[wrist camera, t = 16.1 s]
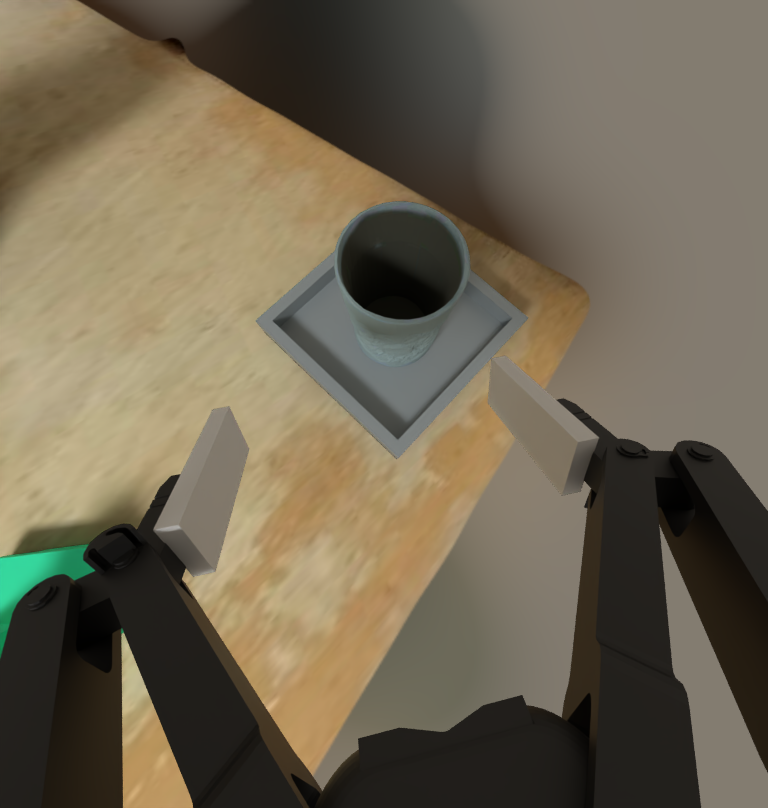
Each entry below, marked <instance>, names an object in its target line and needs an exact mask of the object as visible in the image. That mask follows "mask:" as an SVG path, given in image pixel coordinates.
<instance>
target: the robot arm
mask: <svg viewBox="0 0 768 808" xmlns="http://www.w3.org/2000/svg"><path fill="white" fill-rule="evenodd" d="M488 404H489V405H490V407H491V408H492V409H493V410H494V412H495V413H496V414H497V415H498V417H499V418H500V419H501V420H502V422H503V423H504V424H505V425H506V427H507V428H508V429H509V430H510V432H511V433H512V434H513V435H514V437H515V438H516V439H517V440H518V442H519V443H520V444H521V445H522V447H523V448H524V449H525V450H526V452H527V453H528V454H529V455H530V457H531V458H532V459H533V460H534V462H535V463H536V464H537V465H538V467H539V468H540V469H541V470H542V472H543V473H544V474H545V475H546V476H547V478H548V479H549V480H550V482H551V483H552V484H553V485H554V487H555V488H556V489H557V490H558V492H559V493H560V494H561V495H562V496H563V495H568V494H572V493H577V492H580V491H581V488H582V485H583V482H584V481H585V482H586V483H587V484H588V485H589V486H590V488H591V490H590V493H589V496H588V498H587V501H586V504H585V506H584V507H585V508H587V519H586V527H585V537H584V547H583V556H582V566H581V576H580V585H579V595H578V604H577V614H576V624H575V633H574V642H573V653H572V662H571V671H570V678H569V684H568V688H567V691H566V695H565V700H564V705H563V713H562V718H561V717H560V716H558V715H556V714H554V713H552V712H549V711H547V710H545V709H542V708H538V707H534V706H527V705H526V703H525V701H524V698H523V696H522V695H521V696H517V697H513V698H509V699H506V700H502V701H498V702H495V703H490V704H487V705H483V706H482V707H480V708H479V709H478V710H476V711H475V712H473V713H472V714H471V715H469V716H468V717H466V718H465V719H464V720H463V721H461V722H460V723H458V724H457V725H455V726H454V727H453V728H451V729H450V730H448V731H446V732H436V731H426V730H416V729H407V728H397V729H393V730H389V731H385V732H381V733H378V734H374V735H370V736H367V737H363V738H359V739H358V744H359V750H357V751H356V752H355V753H353V754H352V755H351V756H350V757H349V758H348V759H347V760H346V761H345V762H343V763H342V764H341V766H340V767H339V768H338V769H337V771H336V772H335V773H334V774H333V775H332V777H331V778H330V780H329V782H328V783H327V784H326V786H325V788H324V790H323V791H322V790H321V788H320V787H319V785H318V784H317V782H316V780H315V779H314V777H313V776H312V775H311V773H310V772H309V770H308V769H307V768H306V766H305V765H304V764H303V762H302V761H301V760H300V759H299V757H298V756H297V755H296V754H295V752H294V751H293V749H292V748H291V746H290V745H289V743H288V742H287V740H286V739H285V737H284V735H283V734H282V732H281V731H280V729H279V728H278V726H277V725H276V723H275V721H274V720H273V718H272V717H271V715H270V714H269V712H268V711H267V709H266V708H265V706H264V704H263V703H262V701H261V700H260V698H259V697H258V695H257V694H256V692H255V690H254V689H253V687H252V686H251V684H250V683H249V681H248V680H247V678H246V676H245V675H244V673H243V672H242V670H241V669H240V667H239V666H238V664H237V663H236V661H235V659H234V658H233V656H232V655H231V653H230V652H229V650H228V649H227V647H226V645H225V644H224V642H223V641H222V639H221V638H220V636H219V635H218V633H217V631H216V630H215V628H214V627H213V625H212V624H211V622H210V621H209V619H208V618H207V616H206V614H205V613H204V611H203V610H202V608H201V607H200V605H199V604H198V602H197V600H196V599H195V597H194V596H193V594H192V593H191V591H190V590H189V588H188V587H187V585H186V583H185V582H184V581H183V580H182V577H183V574H184V572H185V569H187V570H188V571H189V572H190V573H191V575H192V576H193V577H194V576H199V575H203V574H208V573H212V572H215V571H216V568H217V564H218V560H219V557H220V553H221V550H222V546H223V542H224V539H225V535H226V531H227V528H228V524H229V521H230V517H231V513H232V510H233V506H234V502H235V499H236V495H237V492H238V488H239V484H240V481H241V477H242V473H243V470H244V466H245V463H246V459H247V455H248V452H249V447H248V445H247V443H246V441H245V439H244V437H243V435H242V433H241V430H240V428H239V426H238V424H237V422H236V420H235V418H234V416H233V414H232V411H231V409H230V407H229V406H228V407H223V408H217V409H213V410H212V412H211V414H210V416H209V418H208V420H207V422H206V424H205V426H204V428H203V430H202V432H201V434H200V436H199V438H198V440H197V442H196V444H195V446H194V448H193V450H192V452H191V454H190V456H189V458H188V460H187V462H186V464H185V466H184V468H183V471H182V473H181V474H179V475H174V476H171V477H170V478H169V479H168V480H167V481H166V482H165V483H164V484H163V485H162V486H161V487H160V488H159V490H158V492H157V494H156V496H155V500H153V501H152V503H151V505H150V509H148V511H147V512H146V514H145V516H144V518H143V520H142V522H141V523H140V525H139V527H138V529H137V530H136V529H135V528H134V527H133V526H132V525H131V524H120V525H117V526H113V527H111V528H109V529H108V530H106V531H104V532H102V533H101V534H100V535H98V536H97V537H96V538H95V539H94V540H93V541H92V542H91V543H90V544H89V545H88V546H87V548H86V550H85V552H84V554H83V561H85V562H86V563H87V564H88V565H89V566H90V567H92V568H93V569H94V570H95V571H94V572H92V573H89V574H87V575H85V576H83V577H81V578H79V579H76V580H73V579H72V578H71V577H69V576H67V575H65V574H59V575H54V576H52V577H49V578H47V579H45V580H43V581H42V582H40V583H38V584H37V585H35V586H34V587H33V588H32V589H31V590H29V591H28V592H27V593H26V594H25V595H24V596H23V597H22V598H21V600H20V601H19V602H18V603H17V605H16V607H15V609H14V611H13V613H12V617H11V621H10V624H9V628H8V632H7V635H6V639H5V643H4V647H3V650H2V654H1V658H0V808H123V768H122V652H121V628H122V629H123V631H124V634H125V636H126V639H127V641H128V644H129V646H130V649H131V651H132V653H133V656H134V658H135V661H136V663H137V666H138V668H139V671H140V673H141V676H142V678H143V680H144V683H145V685H146V688H147V690H148V693H149V695H150V698H151V700H152V703H153V705H154V708H155V710H156V712H157V715H158V717H159V720H160V722H161V725H162V727H163V730H164V732H165V735H166V737H167V740H168V742H169V744H170V747H171V749H172V752H173V754H174V757H175V759H176V762H177V764H178V767H179V769H180V772H181V774H182V776H183V779H184V781H185V784H186V786H187V789H188V791H189V794H190V796H191V799H192V802H193V808H701V803H700V795H699V785H698V777H697V769H696V760H695V751H694V743H693V734H692V725H691V717H690V709H689V702H688V697H687V693H686V691H685V688H684V686H683V684H682V683H681V682H680V681H678V680H677V679H676V678H675V675H674V673H673V668H672V658H671V648H670V637H669V626H668V615H667V604H666V593H665V582H664V572H663V561H662V550H661V539H660V528H659V525H660V527H661V529H662V532H663V534H664V536H665V539H666V541H667V543H668V545H669V547H670V550H671V552H672V555H673V557H674V559H675V561H676V564H677V566H678V569H679V571H680V573H681V576H682V578H683V580H684V582H685V585H686V587H687V589H688V592H689V594H690V596H691V598H692V601H693V603H694V606H695V608H696V610H697V612H698V615H699V617H700V619H701V622H702V624H703V626H704V629H705V631H706V633H707V636H708V638H709V640H710V642H711V645H712V647H713V649H714V652H715V654H716V656H717V659H718V661H719V663H720V665H721V668H722V670H723V673H724V674H725V677H726V679H727V681H728V684H729V686H730V689H731V691H732V693H733V695H734V698H735V700H736V703H737V705H738V707H739V709H740V711H741V714H742V716H743V719H744V721H745V723H746V726H747V728H748V730H749V733H750V735H751V737H752V740H753V742H754V744H755V746H756V749H757V751H758V753H759V756H760V758H761V760H762V762H763V764H764V766H765V768H766V770H767V772H768V511H767V510H766V508H765V507H764V506H763V504H762V503H761V502H760V500H759V499H758V498H757V497H756V495H755V494H754V493H753V491H752V490H751V489H750V487H749V486H748V485H747V484H746V482H745V481H744V480H743V479H742V477H741V476H740V474H739V473H738V472H737V470H736V469H735V468H734V467H733V465H732V464H731V463H730V461H729V460H728V459H727V457H726V456H725V455H724V454H723V453H722V452H720V451H719V450H718V449H716V448H714V447H712V446H710V445H708V444H705V443H702V442H697V441H681V442H678V443H677V445H676V446H675V447H674V449H673V451H650V450H649V449H648V448H646V447H645V446H643V445H642V444H640V443H638V442H635V441H632V440H628V439H617V438H616V437H615V436H614V435H612V434H611V433H610V432H609V431H608V430H607V429H605V428H604V427H603V426H602V425H600V424H599V423H598V422H597V421H596V420H594V419H592V418H591V416H589V415H588V414H587V413H585V412H584V410H582V409H581V408H580V407H579V406H577V405H576V404H574V403H572V402H570V401H568V400H566V399H558V400H556V399H554V398H553V397H552V396H551V395H550V394H549V393H548V392H546V391H545V390H544V389H543V388H542V387H541V386H540V385H538V384H537V383H536V382H535V381H534V380H533V379H532V378H531V377H529V376H528V375H527V374H526V373H525V372H524V371H523V370H521V369H520V368H519V367H518V366H517V365H516V364H515V363H513V362H512V361H511V360H510V359H509V358H508V357H507V356H502V357H496V358H491V369H490V381H489V393H488Z"/></svg>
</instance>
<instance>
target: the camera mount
mask: <svg viewBox="0 0 768 808" xmlns="http://www.w3.org/2000/svg"><path fill="white" fill-rule="evenodd" d="M88 545H89V544H85V545H77V546H69V547H61V548H53V549H47V550H43V551H38V552H31V553H23V554H15V555H7V556H3V557H0V658H1V654H2V650H3V647H4V643H5V639H6V635H7V632H8V628H9V624H10V621H11V617H12V613H13V611H14V609H15V607H16V605H17V603H18V602H19V601H20V600H21V598H22V597H23V596H24V595H25V594H26V593H27V592H28V591H29V590H31V589H32V588H33V587H34V586H35V585H37V584H38V583H40V582H42V581H43V580H45V579H47V578H49V577H52V576H54V575H59V574H65V575H67V576H69V577H71V578H72V579H73V580H76V579H79V578H81V577H83V576H85V575H87V574H89V573H92V572H94V571H95V570H94V569H93V568H92V567H90V566H89V565H88V564H87V563H86V562H85V561H83V554H84V552H85V550H86V548H87V546H88ZM122 633H124V631H123V629H122V628H121V634H122Z"/></svg>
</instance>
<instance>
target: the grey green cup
mask: <svg viewBox="0 0 768 808" xmlns="http://www.w3.org/2000/svg"><path fill="white" fill-rule="evenodd" d="M334 269H335V275H336V279H337V282H338V285H339V288H340V291H341V293H342V297H343V299H344V302H345V305H346V307H347V309H348V312H349V315H350V320H351V322H352V324H353V326H354V332H355V337H356V340H357V342H358V345H359V347H360V348H361V350H362V351H363V352H364V354H365V355H366V356H368V357H369V358H370V359H371V360H373V361H374V362H376V363H379V364H381V365H384V366H389V367H402V366H406V365H409V364H412V363H414V362H416V361H418V360H419V359H420V358H421V357H423V356H424V355H425V353H426V352H427V351H428V350H429V348H430V347H431V345H432V343H433V342H434V340H435V338H436V336H437V334H438V332H439V329H440V327H441V326H442V324H443V323H444V322H445V321H446V319H447V318H448V316H449V314H450V312H451V311H452V310H453V308H454V306H455V305H456V303H457V302H458V300H459V298H460V297H461V295H462V293H463V291H464V290H465V288H466V285H467V282H468V279H469V275H470V256H469V251H468V246H467V244H466V241H465V239H464V237H463V235H462V234H461V232H460V230H459V229H458V228H457V227H456V226H455V225H454V223H453V222H452V221H451V220H449V219H448V218H447V217H446V216H445V215H443V214H442V213H440V212H438V211H437V210H435V209H433V208H430V207H428V206H425V205H422V204H418V203H413V202H406V201H395V202H388V203H382V204H379V205H376V206H373V207H371V208H369V209H367V210H365V211H363V212H361V213H360V214H358V215H357V216H356V217H355V218H353V219H352V220H351V221H350V222H349V224H348V225H347V226H346V227H345V228H344V230H343V231H342V233H341V235H340V237H339V240H338V242H337V245H336V249H335V255H334Z"/></svg>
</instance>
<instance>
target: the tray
mask: <svg viewBox="0 0 768 808" xmlns="http://www.w3.org/2000/svg"><path fill="white" fill-rule="evenodd" d="M334 255H335V251H334V252H333V253H332V254H331V255H329V256H328V257H327V258H326V259H325V260H324V261H323V262H321V263H320V264H319V265H318V266H317V267H316V268H315V269H314V270H312V271H311V272H310V273H309V274H308V275H307V276H306V277H304V278H303V279H302V280H301V281H300V282H299V283H298V284H296V285H295V286H294V287H293V288H292V289H291V290H290V291H289V292H287V293H286V294H285V295H284V296H283V297H282V298H281V299H279V300H278V301H277V302H276V303H275V304H274V305H273V306H271V307H270V308H269V309H268V310H267V311H266V312H265V313H264V314H262V315H261V316H260V317H259V318H258V319H257V320H256V322H257V324H258V325H259V326H260V327H261V328H262V330H263V331H264V332H265V333H266V334H267V335H268V336H269V337H270V338H271V339H272V340H273V341H274V342H275V343H276V344H277V345H278V346H279V347H280V348H281V349H282V350H283V351H284V352H285V353H286V354H288V355H289V356H290V357H291V358H292V359H293V360H294V361H295V362H296V363H297V364H298V365H299V366H300V367H301V368H302V369H303V370H304V371H305V372H306V373H307V374H308V375H309V376H310V377H311V378H313V379H314V380H315V381H316V382H317V383H318V384H319V385H320V386H321V387H322V388H323V389H324V390H325V391H326V392H327V393H328V394H329V395H330V396H331V397H332V398H333V399H334V400H335V401H337V402H338V403H339V404H340V405H341V406H342V407H343V408H344V409H345V410H346V411H347V412H348V413H349V414H350V415H351V416H352V417H353V418H354V419H355V420H356V421H357V422H358V423H359V424H360V425H362V426H363V427H364V428H365V429H366V430H367V431H368V432H369V433H370V434H371V435H372V436H373V437H374V438H375V439H376V440H377V441H378V442H379V443H380V444H381V445H382V446H383V447H384V448H385V449H387V450H388V451H389V452H390V453H391V454H392V455H393V456H394V457H395V458H396V459H397V458H399V457H400V456H401V455H402V454H403V453H404V452H405V450H406V449H407V448H408V447H409V446H410V445H411V444H412V443H413V442H414V441H415V440H416V439H417V438H418V436H419V435H420V434H421V433H422V432H423V431H424V430H425V429H426V428H427V427H428V426H429V425H430V424H431V422H432V421H433V420H434V419H435V418H436V417H437V416H438V415H439V414H440V413H441V412H442V411H443V410H444V408H445V407H446V406H447V405H448V404H449V403H450V402H451V401H452V400H453V399H454V398H455V397H456V396H457V394H458V393H459V392H460V391H461V390H462V389H463V388H464V387H465V386H466V385H467V384H468V383H469V382H470V380H471V379H472V378H473V377H474V376H475V375H476V374H477V373H478V372H479V371H480V370H481V369H482V368H483V366H484V365H485V364H486V363H487V362H488V361H489V360H490V359H491V358H492V357H493V356H494V355H495V354H496V352H497V351H498V350H499V349H500V348H501V347H502V346H503V345H504V344H505V343H506V342H507V341H508V340H509V338H510V337H511V336H512V335H513V334H514V333H515V332H516V331H517V330H518V329H519V328H520V327H521V326H522V324H523V323H524V322H525V321H526V320H527V319H528V317H527V316H526V315H525V314H523V313H522V312H521V311H520V310H519V309H517V308H516V307H515V306H514V305H513V304H511V303H510V302H509V301H508V300H507V299H505V298H504V297H503V296H502V295H501V294H499V293H498V292H497V291H496V290H495V289H493V288H492V287H491V286H490V285H489V284H487V283H486V282H485V281H484V280H483V279H481V278H480V277H479V276H478V275H477V274H475V273H474V272H473V271H472V270H471V269H470V275H469V279H468V282H467V285H466V288H465V290H464V291H463V293H462V295H461V297H460V298H459V300H458V302H457V303H456V305H455V306H454V308H453V310H452V311H451V312H450V314H449V316H448V318H447V319H446V321H445V322H444V323H443V324H442V326H441V327H440V329H439V332H438V334H437V336H436V338H435V340H434V342H433V343H432V345H431V347H430V348H429V350H428V351H427V352H426V353H425V355H424V356H423V357H421V358H420V359H419V360H418V361H416V362H414V363H412V364H409V365H406V366H402V367H389V366H384V365H381V364H379V363H376V362H374V361H373V360H371V359H370V358H369V357H368V356H366V355H365V354H364V352H363V351H362V350H361V348H360V347H359V345H358V342H357V340H356V337H355V332H354V326H353V324H352V322H351V320H350V315H349V312H348V309H347V307H346V305H345V302H344V299H343V297H342V293H341V291H340V288H339V285H338V282H337V279H336V275H335V269H334Z"/></svg>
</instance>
